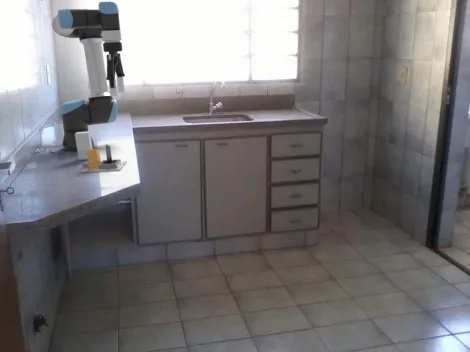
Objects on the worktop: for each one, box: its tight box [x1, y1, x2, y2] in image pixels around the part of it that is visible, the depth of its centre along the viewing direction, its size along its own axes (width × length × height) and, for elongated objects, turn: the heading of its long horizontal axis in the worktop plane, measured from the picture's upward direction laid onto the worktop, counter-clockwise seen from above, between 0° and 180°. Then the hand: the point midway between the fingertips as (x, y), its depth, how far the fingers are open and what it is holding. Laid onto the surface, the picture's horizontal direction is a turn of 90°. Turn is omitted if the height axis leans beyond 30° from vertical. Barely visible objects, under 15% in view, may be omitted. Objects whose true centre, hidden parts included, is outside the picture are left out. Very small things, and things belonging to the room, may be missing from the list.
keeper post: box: [80, 143, 128, 173], centre depth 203 cm, size 13×16×9 cm
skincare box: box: [75, 131, 93, 161], centre depth 219 cm, size 6×4×12 cm
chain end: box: [81, 148, 121, 168], centre depth 203 cm, size 15×7×7 cm, turn 90°
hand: (117, 94), depth 206 cm, fingers open, 13 cm apart
